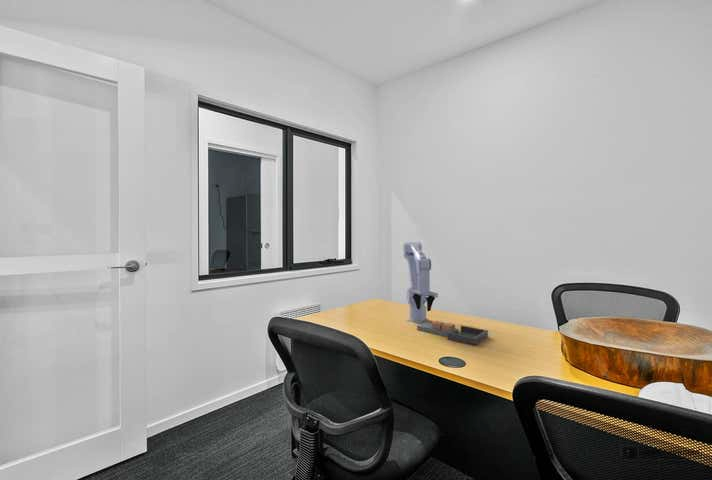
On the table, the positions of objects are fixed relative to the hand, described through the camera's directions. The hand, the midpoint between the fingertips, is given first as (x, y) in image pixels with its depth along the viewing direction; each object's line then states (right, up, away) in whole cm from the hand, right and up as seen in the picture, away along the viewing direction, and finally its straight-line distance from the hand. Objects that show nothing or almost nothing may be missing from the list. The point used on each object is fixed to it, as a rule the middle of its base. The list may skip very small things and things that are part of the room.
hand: (423, 309), depth 164 cm
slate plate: (+6, -10, -5) cm, 12 cm away
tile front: (+10, -8, -8) cm, 15 cm away
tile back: (+6, -8, -5) cm, 11 cm away
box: (+17, -10, -15) cm, 25 cm away
